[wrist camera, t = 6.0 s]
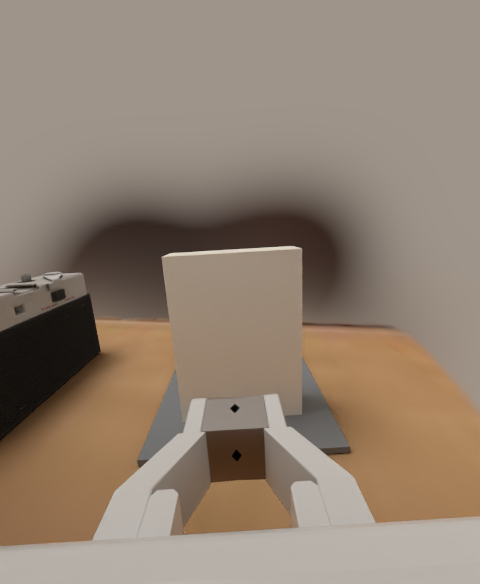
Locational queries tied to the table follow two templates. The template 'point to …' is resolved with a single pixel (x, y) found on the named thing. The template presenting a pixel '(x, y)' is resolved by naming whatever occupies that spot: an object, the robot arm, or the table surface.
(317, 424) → the mat
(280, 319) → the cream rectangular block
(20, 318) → the camera
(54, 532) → the table surface
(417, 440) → the table surface
